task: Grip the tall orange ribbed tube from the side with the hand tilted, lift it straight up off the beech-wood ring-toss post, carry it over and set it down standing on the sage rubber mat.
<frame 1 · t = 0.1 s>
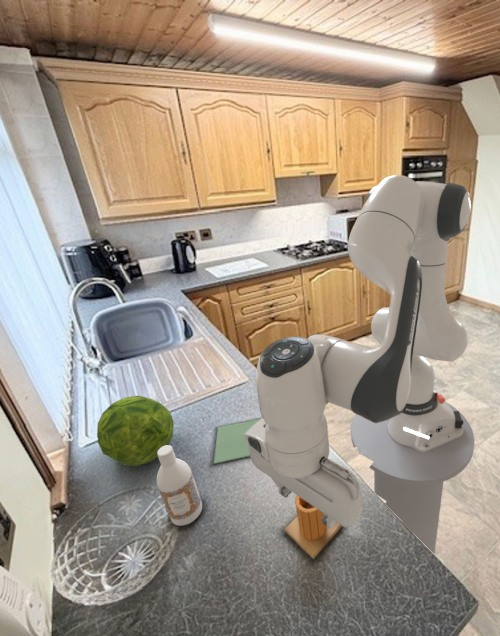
hand: (306, 507, 56), 23 cm above the worktop, tool pointing down, fingers open, 8 cm apart
mat: (241, 439, 101), on the worktop
orange ribbed tube: (313, 526, 76), point 1 cm above the worktop, touching ring post
bath foam: (187, 513, 81), on the worktop
ring post: (313, 529, 77), on the worktop
lettuce: (141, 448, 100), on the worktop
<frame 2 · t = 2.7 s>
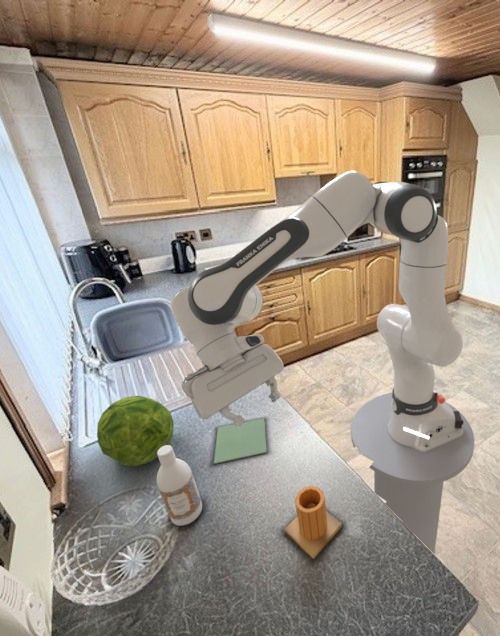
hand: (260, 411, 72), 27 cm above the worktop, tool tilted 45°, fingers open, 8 cm apart
nothing on the worktop moved.
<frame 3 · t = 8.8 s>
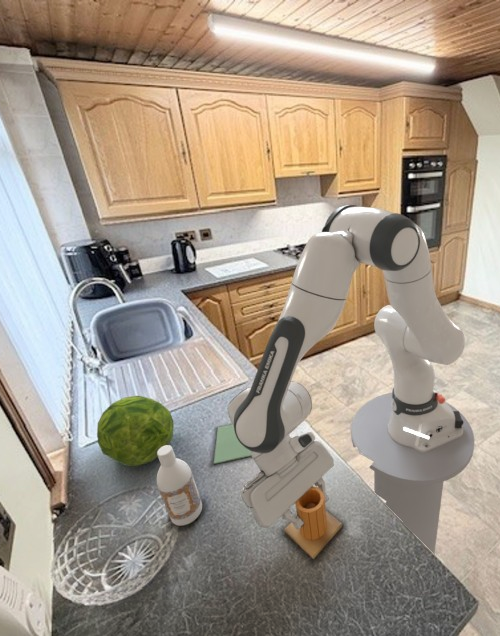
hand: (313, 513, 74), 6 cm above the worktop, tool tilted 45°, fingers closed on orange ribbed tube, 6 cm apart
orange ribbed tube: (313, 526, 76), point 1 cm above the worktop, touching gripper, ring post
everything else where it was.
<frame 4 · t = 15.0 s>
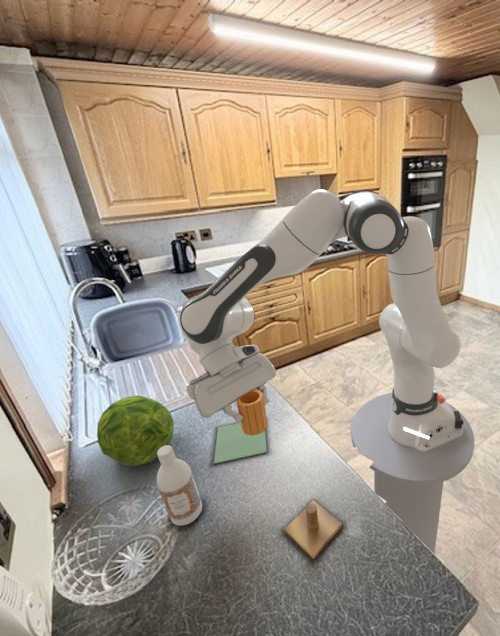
hand: (254, 412, 83), 20 cm above the worktop, tool tilted 45°, fingers closed on orange ribbed tube, 6 cm apart
orange ribbed tube: (255, 426, 85), point 15 cm above the worktop, touching gripper
everything else where it was.
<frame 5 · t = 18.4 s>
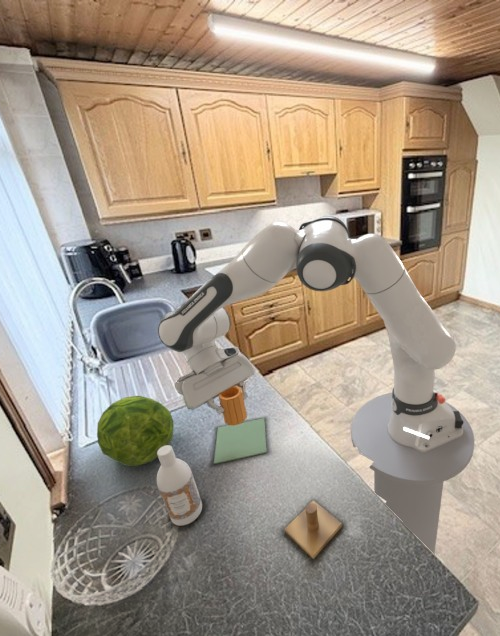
hand: (234, 405, 95), 13 cm above the worktop, tool tilted 45°, fingers closed on orange ribbed tube, 6 cm apart
orange ribbed tube: (235, 418, 98), point 8 cm above the worktop, touching gripper
everything else where it was.
when the fingers open (5 cm above the worktop, at t = 21.2 s): orange ribbed tube stays where it is, resting on mat.
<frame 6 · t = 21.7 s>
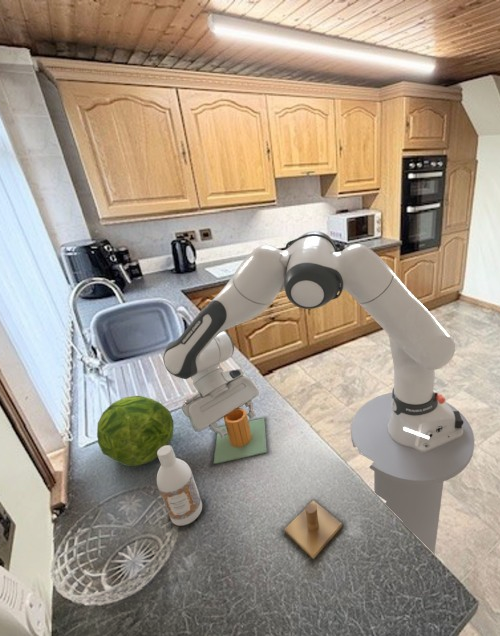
hand: (239, 426, 98), 6 cm above the worktop, tool tilted 45°, fingers open, 8 cm apart
orange ribbed tube: (240, 439, 101), resting on mat
everything else where it was.
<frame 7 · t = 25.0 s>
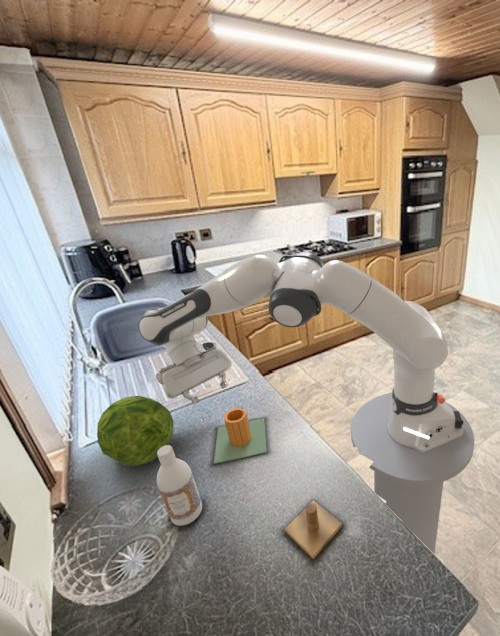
hand: (211, 394, 104), 10 cm above the worktop, tool tilted 45°, fingers open, 8 cm apart
nothing on the worktop moved.
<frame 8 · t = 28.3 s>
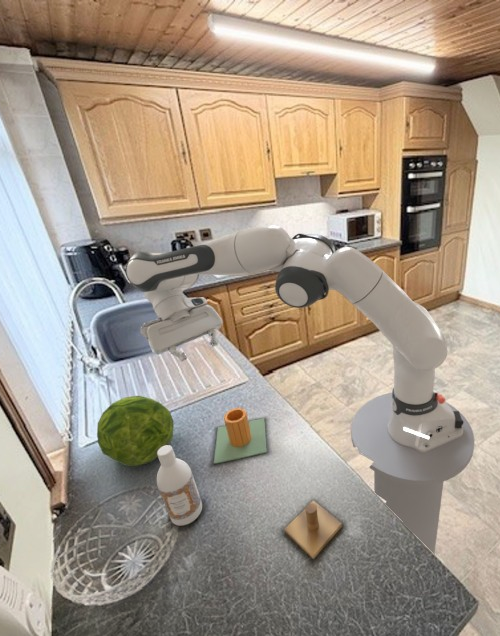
hand: (200, 352, 98), 25 cm above the worktop, tool tilted 45°, fingers open, 8 cm apart
nothing on the worktop moved.
at the end: orange ribbed tube inside the target area on the mat (0.1 cm from its centre), point 0.4 cm above the mat's base; orange ribbed tube tilted 0°; the gripper is holding nothing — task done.
